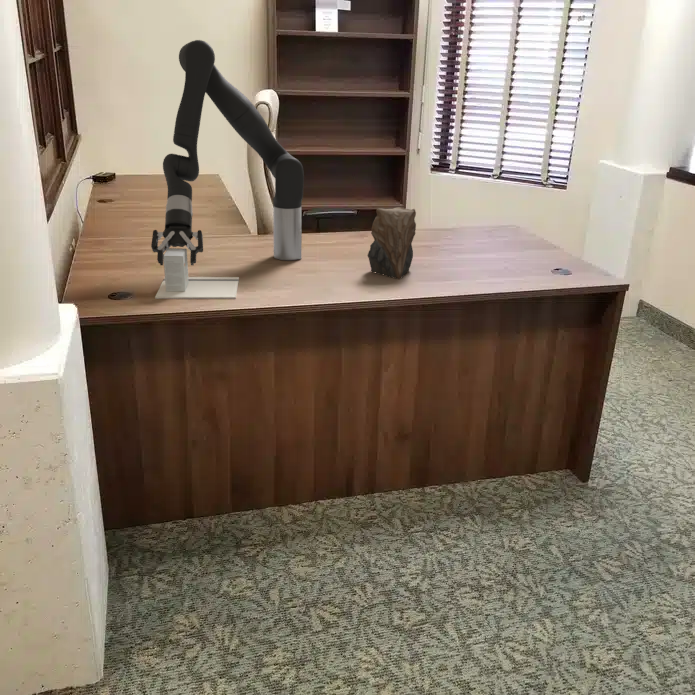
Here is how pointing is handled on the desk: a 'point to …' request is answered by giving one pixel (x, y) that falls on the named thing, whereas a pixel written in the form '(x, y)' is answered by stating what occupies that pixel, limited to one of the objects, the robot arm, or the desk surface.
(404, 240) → the owl
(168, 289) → the small box
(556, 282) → the desk surface
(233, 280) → the mat
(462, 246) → the desk surface
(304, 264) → the desk surface
